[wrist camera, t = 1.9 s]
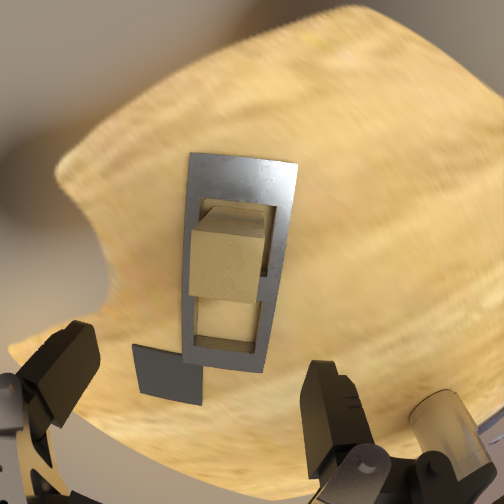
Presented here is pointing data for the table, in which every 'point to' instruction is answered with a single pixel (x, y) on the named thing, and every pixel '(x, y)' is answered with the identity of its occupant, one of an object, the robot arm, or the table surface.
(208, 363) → the grey slotted frame
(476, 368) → the table surface
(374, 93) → the table surface
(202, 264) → the block
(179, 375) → the mat
